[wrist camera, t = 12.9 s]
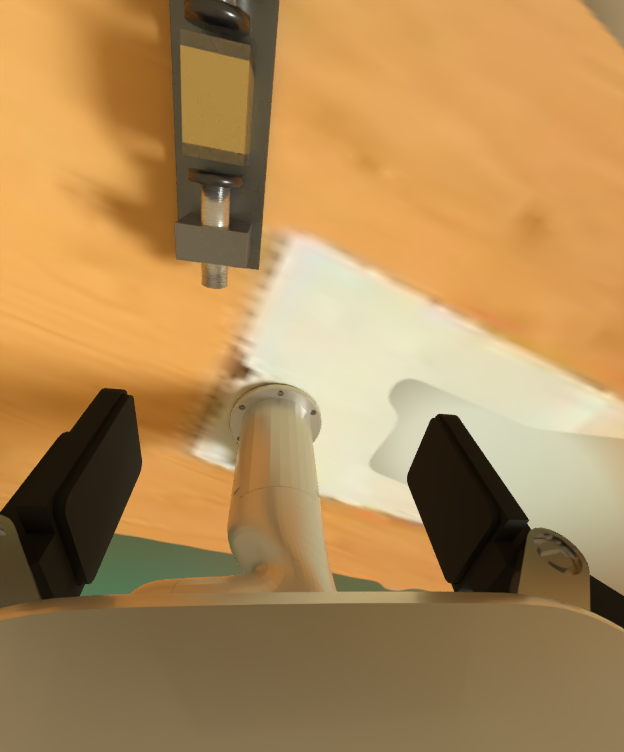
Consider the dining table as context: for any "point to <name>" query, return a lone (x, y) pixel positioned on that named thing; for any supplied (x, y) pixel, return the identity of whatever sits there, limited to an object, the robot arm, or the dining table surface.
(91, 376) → the dining table surface
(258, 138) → the shaft stand
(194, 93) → the two-tone brushed block
